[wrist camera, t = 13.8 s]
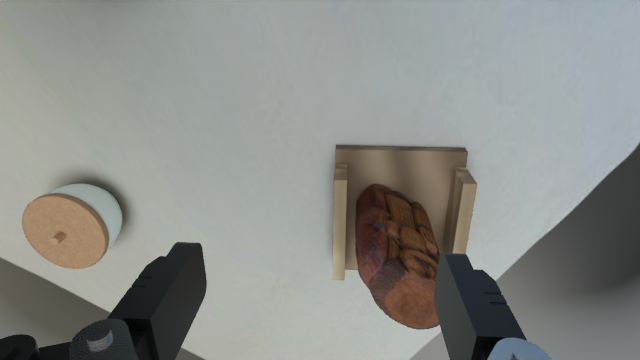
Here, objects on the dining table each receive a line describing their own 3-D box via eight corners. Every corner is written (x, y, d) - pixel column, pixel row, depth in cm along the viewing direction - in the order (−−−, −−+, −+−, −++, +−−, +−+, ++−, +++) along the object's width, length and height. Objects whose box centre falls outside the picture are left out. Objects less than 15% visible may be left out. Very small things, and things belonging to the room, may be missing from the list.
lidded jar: (87, 245, 60) (43, 284, 51) (48, 182, 56) (-7, 214, 47) (148, 228, 58) (113, 267, 49) (112, 163, 54) (66, 192, 45)
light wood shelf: (334, 262, 57) (332, 292, 52) (336, 145, 50) (333, 163, 44) (446, 267, 56) (457, 298, 50) (464, 148, 49) (480, 167, 43)
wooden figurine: (446, 218, 52) (489, 317, 35) (416, 252, 54) (443, 360, 38) (371, 173, 50) (379, 254, 33) (343, 210, 52) (339, 303, 36)
